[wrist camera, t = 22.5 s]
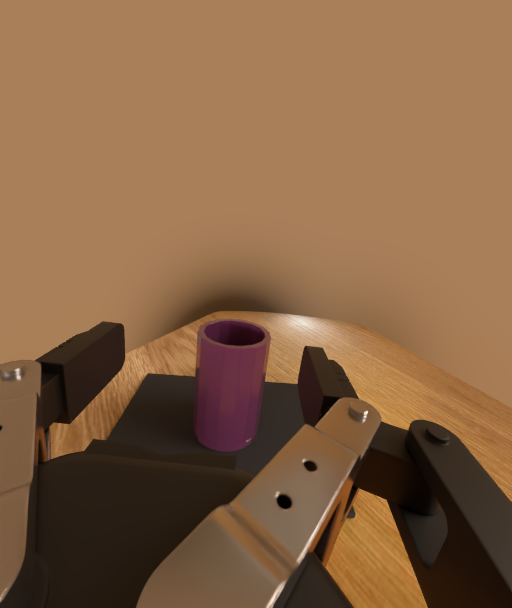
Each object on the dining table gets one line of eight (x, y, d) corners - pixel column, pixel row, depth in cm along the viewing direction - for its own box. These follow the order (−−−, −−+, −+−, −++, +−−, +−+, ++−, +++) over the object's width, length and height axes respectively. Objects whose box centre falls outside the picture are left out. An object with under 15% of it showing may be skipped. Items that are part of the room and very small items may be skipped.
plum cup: (187, 450, 23) (192, 344, 20) (199, 403, 29) (204, 316, 26) (258, 454, 24) (273, 351, 21) (256, 407, 29) (267, 322, 27)
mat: (67, 508, 18) (66, 503, 18) (147, 375, 33) (147, 373, 33) (354, 518, 20) (355, 514, 20) (305, 387, 35) (306, 384, 35)
